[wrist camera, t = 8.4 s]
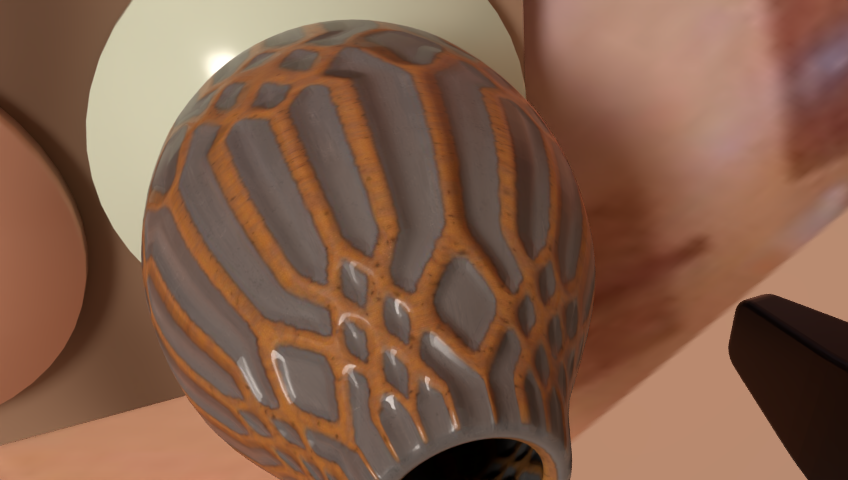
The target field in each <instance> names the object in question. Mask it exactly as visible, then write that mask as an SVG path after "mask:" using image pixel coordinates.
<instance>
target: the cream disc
mask: <svg viewBox="0 0 848 480" xmlns="http://www.w3.org/2000/svg"><path fill="white" fill-rule="evenodd" d="M350 19H356V20H373V21H382V22H388V23H393V24H398V25H403V26H408V27H412V28H415V29H419V30H422V31H425V32H428V33H431V34H433V35H436V36H438V37H441V38H443V39H445V40H447V41H449V42H451V43H453V44H455V45H456V46H458V47H460V48H461V49H463V50H465V51H467V52H468V53H470V54H471V55H473V56H475V57H476V58H478V59H480V60H481V61H482V62H484V63H485V64H486V65H488V66H489V67H490V68H492V69H493V70H494V71H496V72H497V73H498V74H499V75H501V76H502V77H503V78H504V79H505V80H506V81H508V82H509V83H510V84H511V85H512V86H513V87H514V88H515V89H516V90H517V91H518V92H519V93H520V94H521V95H522V96H523V97H524V98H525V99H526V91H525V84H524V79H523V75H522V70H521V66H520V61H519V59H518V56H517V53H516V51H515V48H514V45H513V43H512V40H511V37H510V35H509V33H508V32H507V30H506V28H505V26H504V24H503V22H502V21H501V19H500V17H499V15H498V13H497V12H496V11H495V9H494V8H493V7H492V5H491V4H490V3H489V1H488V0H131V1H130V2H129V4H128V5H127V7H126V8H125V10H124V11H123V13H122V14H121V16H120V17H119V18H118V20H117V21H116V23H115V25H114V27H113V29H112V31H111V33H110V36H109V38H108V40H107V42H106V44H105V46H104V48H103V50H102V53H101V56H100V59H99V61H98V65H97V68H96V72H95V75H94V78H93V82H92V85H91V89H90V94H89V101H88V109H87V117H86V139H87V154H88V159H89V165H90V170H91V175H92V180H93V182H94V185H95V188H96V191H97V194H98V197H99V200H100V202H101V205H102V207H103V209H104V211H105V213H106V215H107V217H108V218H109V220H110V222H111V224H112V226H113V228H114V230H115V231H116V232H117V234H118V235H119V237H120V238H121V239H122V241H123V242H124V244H125V245H126V246H127V248H128V249H129V250H130V252H131V253H132V254H133V255H134V256H135V257H136V258H137V259H138V260H139V261H140V262H141V242H142V225H143V217H144V211H145V205H146V199H147V194H148V189H149V185H150V181H151V177H152V174H153V171H154V168H155V165H156V162H157V159H158V156H159V154H160V151H161V148H162V146H163V143H164V141H165V139H166V137H167V135H168V133H169V131H170V129H171V127H172V126H173V124H174V122H175V121H176V119H177V117H178V116H179V114H180V113H181V112H182V110H183V109H184V108H185V106H186V105H187V103H188V102H189V101H190V100H191V98H192V97H193V96H194V95H195V94H196V93H197V91H198V90H199V89H200V88H201V87H202V86H203V84H204V83H205V82H206V81H207V80H208V79H209V78H210V77H211V76H212V75H213V74H214V73H216V72H217V71H218V70H219V69H220V68H221V67H223V66H224V65H225V64H226V63H227V62H229V61H230V60H232V59H233V58H234V57H236V56H237V55H239V54H240V53H242V52H243V51H245V50H247V49H248V48H250V47H252V46H253V45H255V44H257V43H259V42H261V41H263V40H265V39H267V38H269V37H272V36H274V35H277V34H279V33H282V32H285V31H287V30H290V29H294V28H297V27H301V26H304V25H309V24H314V23H318V22H325V21H333V20H350Z"/></svg>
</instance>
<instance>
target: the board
mask: <svg viewBox="0 0 848 480" xmlns="http://www.w3.org/2000/svg"><path fill="white" fill-rule="evenodd" d="M130 1H131V0H0V107H1V108H2V109H3V110H4V111H5V112H7V113H8V114H9V115H10V116H11V117H12V118H14V119H15V120H16V121H17V122H18V123H19V124H20V125H21V126H22V127H23V128H24V129H25V130H26V131H27V132H28V133H29V134H30V135H31V136H32V137H33V139H34V140H35V141H36V142H37V143H38V144H39V145H40V146H41V147H42V148H43V150H44V151H45V152H46V154H47V155H48V156H49V158H50V159H51V161H52V162H53V163H54V165H55V166H56V167H57V169H58V170H59V171H60V173H61V175H62V177H63V179H64V180H65V182H66V184H67V186H68V188H69V189H70V191H71V193H72V195H73V197H74V199H75V202H76V205H77V207H78V210H79V213H80V215H81V218H82V221H83V225H84V230H85V235H86V240H87V245H88V275H87V282H86V289H85V294H84V299H83V303H82V308H81V311H80V314H79V317H78V320H77V323H76V326H75V329H74V330H73V332H72V334H71V336H70V338H69V340H68V342H67V343H66V345H65V347H64V349H63V350H62V351H61V353H60V354H59V355H58V357H57V358H56V359H55V360H54V362H53V363H52V364H51V366H50V367H49V368H48V369H47V370H46V371H45V372H44V373H42V374H41V375H40V376H39V377H38V378H37V379H36V380H35V381H34V382H33V383H32V384H31V385H29V386H28V387H26V388H25V389H24V390H22V391H21V392H20V393H18V394H17V395H15V396H14V397H13V398H11V399H9V400H7V401H6V402H4V403H2V404H0V446H1V445H4V444H8V443H12V442H16V441H19V440H23V439H27V438H30V437H34V436H38V435H41V434H45V433H49V432H52V431H56V430H60V429H64V428H67V427H71V426H75V425H78V424H82V423H86V422H89V421H93V420H97V419H100V418H104V417H108V416H112V415H115V414H119V413H123V412H126V411H130V410H134V409H137V408H141V407H145V406H148V405H152V404H156V403H160V402H163V401H167V400H171V399H174V398H178V397H182V396H185V393H184V391H183V390H182V388H181V386H180V385H179V383H178V381H177V379H176V378H175V376H174V374H173V372H172V370H171V368H170V366H169V364H168V362H167V360H166V357H165V355H164V353H163V351H162V348H161V346H160V344H159V341H158V338H157V335H156V332H155V329H154V326H153V323H152V320H151V317H150V313H149V309H148V305H147V301H146V295H145V289H144V283H143V276H142V266H141V262H140V261H139V260H138V259H137V258H136V257H135V256H134V255H133V254H132V253H131V252H130V250H129V249H128V248H127V246H126V245H125V244H124V242H123V241H122V239H121V238H120V237H119V235H118V234H117V232H116V231H115V230H114V228H113V226H112V224H111V222H110V220H109V218H108V217H107V215H106V213H105V211H104V209H103V207H102V205H101V202H100V200H99V197H98V194H97V191H96V188H95V185H94V182H93V180H92V175H91V170H90V165H89V159H88V154H87V139H86V117H87V109H88V101H89V94H90V89H91V85H92V82H93V78H94V75H95V72H96V68H97V65H98V61H99V59H100V56H101V53H102V50H103V48H104V46H105V44H106V42H107V40H108V38H109V36H110V33H111V31H112V29H113V27H114V25H115V23H116V21H117V20H118V18H119V17H120V16H121V14H122V13H123V11H124V10H125V8H126V7H127V5H128V4H129V2H130ZM488 1H489V3H490V4H491V5H492V7H493V8H494V9H495V11H496V12H497V13H498V15H499V17H500V19H501V21H502V22H503V24H504V26H505V28H506V30H507V32H508V33H509V35H510V37H511V40H512V43H513V45H514V48H515V51H516V53H517V56H518V59H519V61H520V66H521V70H522V75H523V79H524V84H525V75H524V21H523V0H488Z"/></svg>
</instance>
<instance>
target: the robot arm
mask: <svg viewBox="0 0 848 480" xmlns="http://www.w3.org/2000/svg"><path fill="white" fill-rule="evenodd" d="M728 349H729V355H730V359H731V362H732V364H733V366H734V367H735V369H736V370H737V372H738V374H739V375H740V377H741V379H742V380H743V382H744V383H745V385H746V386H747V388H748V390H749V391H750V393H751V394H752V396H753V398H754V399H755V401H756V402H757V404H758V405H759V407H760V408H761V410H762V412H763V413H764V415H765V417H766V418H767V420H768V421H769V423H770V424H771V426H772V428H773V429H774V431H775V432H776V434H777V436H778V437H779V439H780V440H781V442H782V443H783V445H784V447H785V448H786V450H787V451H788V453H789V454H790V456H791V457H792V458H793V460H794V461H795V463H796V464H797V466H798V467H799V468H800V470H801V471H802V472H803V474H804V475H805V477H806V478H807V479H808V480H848V322H846V321H843V320H841V319H838V318H835V317H833V316H830V315H827V314H824V313H822V312H819V311H816V310H814V309H811V308H809V307H806V306H803V305H801V304H798V303H795V302H792V301H790V300H787V299H784V298H782V297H779V296H776V295H772V294H764V295H760V296H757V297H754V298H750V299H747V300H744V301H742V302H740V303H739V305H738V306H737V308H736V311H735V317H734V321H733V326H732V331H731V335H730V340H729V346H728Z"/></svg>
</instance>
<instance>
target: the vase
mask: <svg viewBox="0 0 848 480" xmlns="http://www.w3.org/2000/svg"><path fill="white" fill-rule="evenodd" d="M141 266H142V276H143V283H144V289H145V295H146V301H147V305H148V309H149V313H150V317H151V320H152V323H153V326H154V329H155V332H156V335H157V338H158V341H159V344H160V346H161V348H162V351H163V353H164V355H165V357H166V360H167V362H168V364H169V366H170V368H171V370H172V372H173V374H174V376H175V378H176V379H177V381H178V383H179V385H180V386H181V388H182V390H183V391H184V393H185V395H186V396H187V398H188V400H189V401H190V402H191V404H192V405H193V406H194V408H195V409H196V410H197V411H198V413H199V414H200V415H201V417H202V418H203V419H204V420H205V422H206V423H207V424H208V425H209V426H210V427H211V428H212V429H213V430H214V432H215V433H217V434H218V435H219V436H220V437H221V438H222V439H223V440H224V441H225V442H227V443H228V444H229V445H230V446H231V447H232V448H233V449H234V450H236V451H237V452H238V453H240V454H241V455H242V456H244V457H245V458H247V459H248V460H250V461H251V462H253V463H254V464H256V465H257V466H259V467H260V468H262V469H263V470H265V471H267V472H268V473H270V474H272V475H273V476H275V477H277V478H278V479H280V480H570V477H571V470H572V451H571V440H570V428H569V400H570V396H571V393H572V389H573V386H574V383H575V379H576V376H577V373H578V369H579V365H580V362H581V358H582V354H583V351H584V347H585V343H586V339H587V335H588V330H589V326H590V321H591V316H592V311H593V303H594V292H595V258H594V248H593V240H592V234H591V229H590V225H589V221H588V216H587V213H586V209H585V205H584V202H583V199H582V196H581V193H580V190H579V187H578V184H577V181H576V179H575V177H574V175H573V172H572V170H571V168H570V166H569V163H568V161H567V159H566V157H565V155H564V152H563V151H562V149H561V147H560V146H559V144H558V142H557V141H556V139H555V137H554V136H553V134H552V132H551V131H550V129H549V128H548V126H547V125H546V123H545V122H544V120H543V119H542V118H541V116H540V115H539V114H538V112H537V111H536V110H535V109H534V108H533V107H532V106H531V105H530V104H529V102H528V101H527V100H526V99H525V98H524V97H523V96H522V95H521V94H520V93H519V92H518V91H517V90H516V89H515V88H514V87H513V86H512V85H511V84H510V83H509V82H508V81H506V80H505V79H504V78H503V77H502V76H501V75H499V74H498V73H497V72H496V71H494V70H493V69H492V68H490V67H489V66H488V65H486V64H485V63H484V62H482V61H481V60H480V59H478V58H476V57H475V56H473V55H471V54H470V53H468V52H467V51H465V50H463V49H461V48H460V47H458V46H456V45H455V44H453V43H451V42H449V41H447V40H445V39H443V38H441V37H438V36H436V35H433V34H431V33H428V32H425V31H422V30H419V29H415V28H412V27H408V26H403V25H398V24H393V23H388V22H382V21H373V20H356V19H350V20H333V21H325V22H318V23H314V24H309V25H304V26H301V27H297V28H294V29H290V30H287V31H285V32H282V33H279V34H277V35H274V36H272V37H269V38H267V39H265V40H263V41H261V42H259V43H257V44H255V45H253V46H252V47H250V48H248V49H247V50H245V51H243V52H242V53H240V54H239V55H237V56H236V57H234V58H233V59H232V60H230V61H229V62H227V63H226V64H225V65H224V66H223V67H221V68H220V69H219V70H218V71H217V72H216V73H214V74H213V75H212V76H211V77H210V78H209V79H208V80H207V81H206V82H205V83H204V84H203V86H202V87H201V88H200V89H199V90H198V91H197V93H196V94H195V95H194V96H193V97H192V98H191V100H190V101H189V102H188V103H187V105H186V106H185V108H184V109H183V110H182V112H181V113H180V114H179V116H178V117H177V119H176V121H175V122H174V124H173V126H172V127H171V129H170V131H169V133H168V135H167V137H166V139H165V141H164V143H163V146H162V148H161V151H160V154H159V156H158V159H157V162H156V165H155V168H154V171H153V174H152V177H151V181H150V185H149V189H148V194H147V199H146V205H145V211H144V217H143V225H142V242H141Z"/></svg>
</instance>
